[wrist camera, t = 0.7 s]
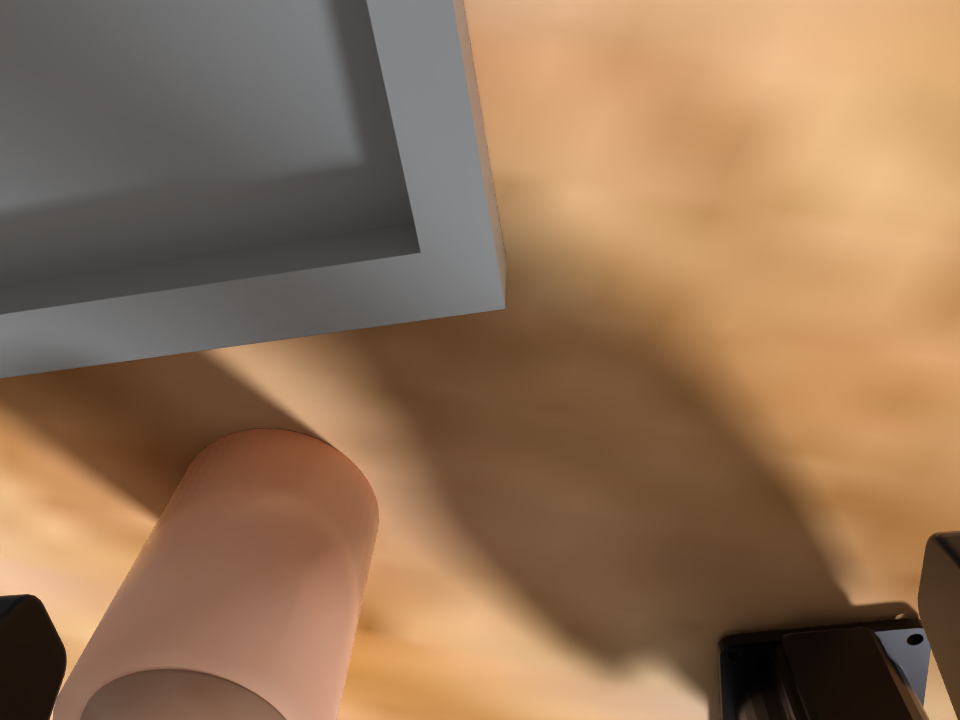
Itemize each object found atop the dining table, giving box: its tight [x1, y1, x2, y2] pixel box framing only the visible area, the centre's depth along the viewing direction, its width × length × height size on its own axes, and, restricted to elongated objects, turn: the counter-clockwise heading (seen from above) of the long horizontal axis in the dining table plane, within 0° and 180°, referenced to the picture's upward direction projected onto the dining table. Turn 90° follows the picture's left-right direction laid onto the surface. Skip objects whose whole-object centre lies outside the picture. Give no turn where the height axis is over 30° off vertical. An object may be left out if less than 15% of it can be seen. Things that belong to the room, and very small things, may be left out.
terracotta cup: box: [53, 428, 379, 720], centre depth 22 cm, size 6×6×8 cm
